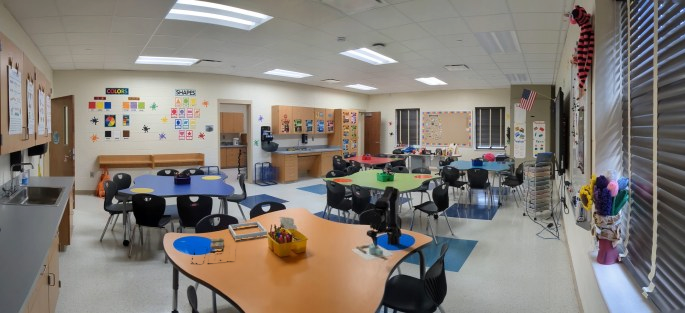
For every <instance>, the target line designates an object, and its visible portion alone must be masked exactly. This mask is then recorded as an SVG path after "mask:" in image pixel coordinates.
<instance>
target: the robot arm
mask: <svg viewBox="0 0 685 313" xmlns="http://www.w3.org/2000/svg"><path fill="white" fill-rule="evenodd" d="M399 197H400V189H399V188H396V187H394V186H390V185H389V186H385V189H384V191H383V193H382V195H381V197H380V198H378V199H377V200H376V201H375V202H374V203H375V205H374V208H373V213H375V215H373V217H372V222H370V223H369V228H370V229H369V230H367V231H366V236H368V237H369V238H371V240H372V242H373V243H372V244H373V245H375V247H376V246H377V245H378V235H381V234H386V235H387V245H388V246H389V245H391V246H392V245H393V246H396V245H397V246H401V245H402V244H401V243H400V240H401V238H400V237H402V234H403V233H402V231H401V227H400V223H399V222H398V217H397V216H398V211H397V210H398V209H397V208H398V207H397V200H398V199H399ZM388 212H389V223H388V215H387V214H388Z"/></svg>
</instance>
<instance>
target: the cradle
mask: <svg viewBox="0 0 685 313" xmlns="http://www.w3.org/2000/svg"><path fill="white" fill-rule="evenodd" d="M371 244H372V245H374V243H369V244H365V245H364V244H363V245H359V246H356V248H355V249H358V250H360V251H361V252H363V253H366V251H365V250H363V249H362V248H367V247H369V245H371ZM379 249H380V248H379Z"/></svg>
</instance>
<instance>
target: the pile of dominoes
mask: <svg viewBox="0 0 685 313" xmlns="http://www.w3.org/2000/svg"><path fill="white" fill-rule="evenodd" d="M223 246H224V247H225V238H224V237H222V238H221V237H220V238H212V239H211V242H210V249H223ZM223 250H224V249H223Z"/></svg>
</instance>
